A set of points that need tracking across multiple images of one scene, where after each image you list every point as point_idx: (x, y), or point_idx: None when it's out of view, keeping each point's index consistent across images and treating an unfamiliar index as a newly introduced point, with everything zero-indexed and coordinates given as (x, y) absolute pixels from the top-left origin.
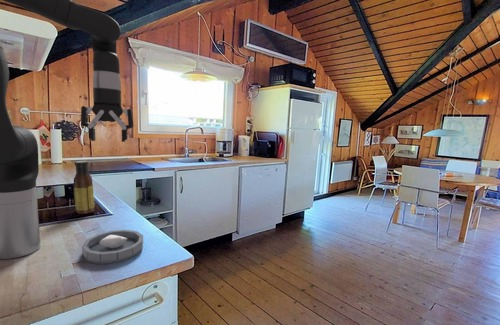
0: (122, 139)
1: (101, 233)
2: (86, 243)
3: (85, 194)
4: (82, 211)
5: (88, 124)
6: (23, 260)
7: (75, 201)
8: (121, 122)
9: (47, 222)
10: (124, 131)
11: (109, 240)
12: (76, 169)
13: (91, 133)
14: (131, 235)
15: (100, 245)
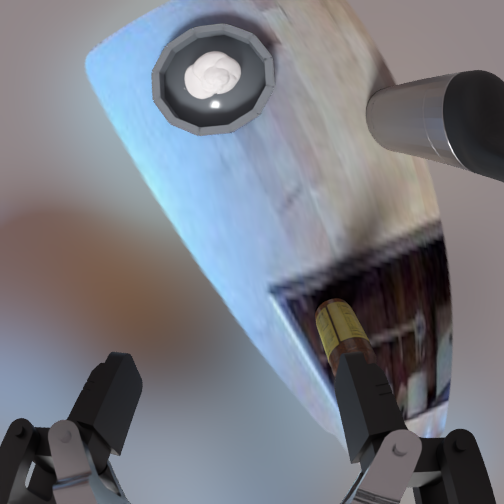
0: (116, 361)
1: (251, 119)
2: (268, 69)
3: (339, 328)
4: (337, 300)
5: (416, 465)
6: (370, 76)
7: (357, 319)
8: (60, 482)
9: (391, 257)
10: (83, 417)
11: (213, 51)
12: None
13: (373, 394)
14: (184, 120)
15: (245, 91)
